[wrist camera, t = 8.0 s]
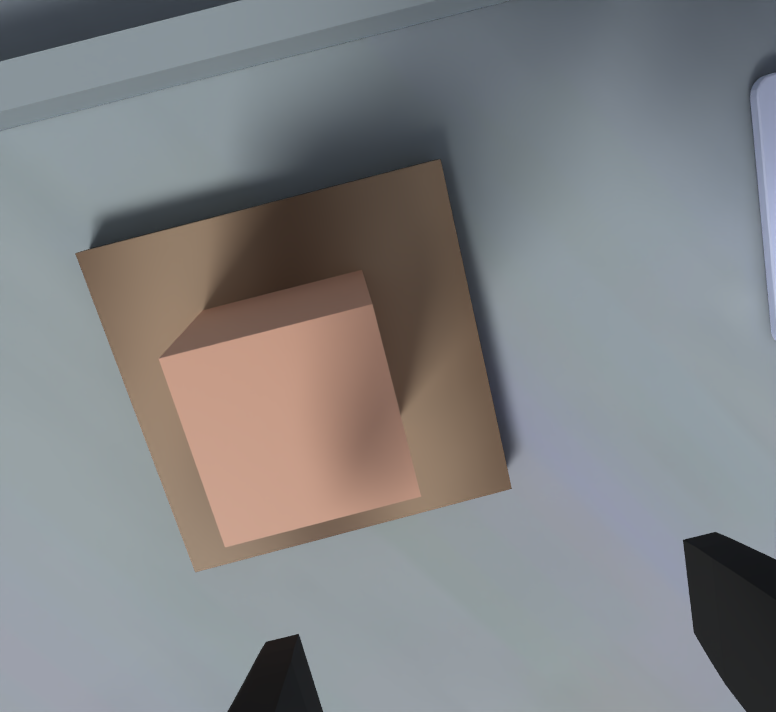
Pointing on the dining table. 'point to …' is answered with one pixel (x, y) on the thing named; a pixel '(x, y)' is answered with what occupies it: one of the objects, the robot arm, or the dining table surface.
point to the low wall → (196, 50)
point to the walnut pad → (298, 267)
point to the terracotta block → (290, 409)
